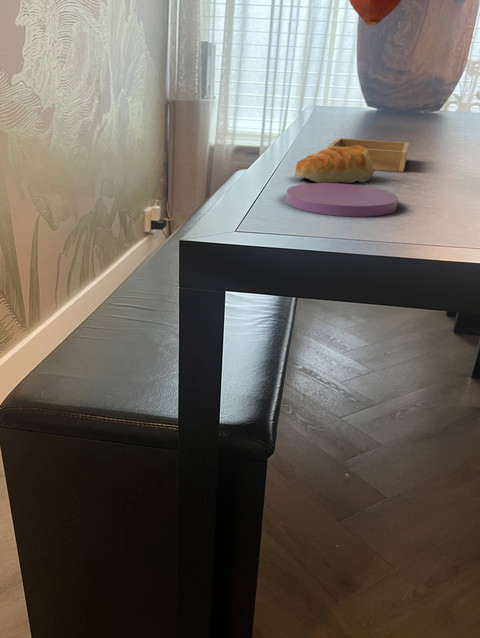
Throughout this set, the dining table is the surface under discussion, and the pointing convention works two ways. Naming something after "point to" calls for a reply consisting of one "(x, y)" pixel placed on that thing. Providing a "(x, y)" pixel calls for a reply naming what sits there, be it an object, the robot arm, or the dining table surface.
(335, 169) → the pastry
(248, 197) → the dining table surface
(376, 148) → the tray
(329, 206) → the lid
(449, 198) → the dining table surface
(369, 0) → the onion
